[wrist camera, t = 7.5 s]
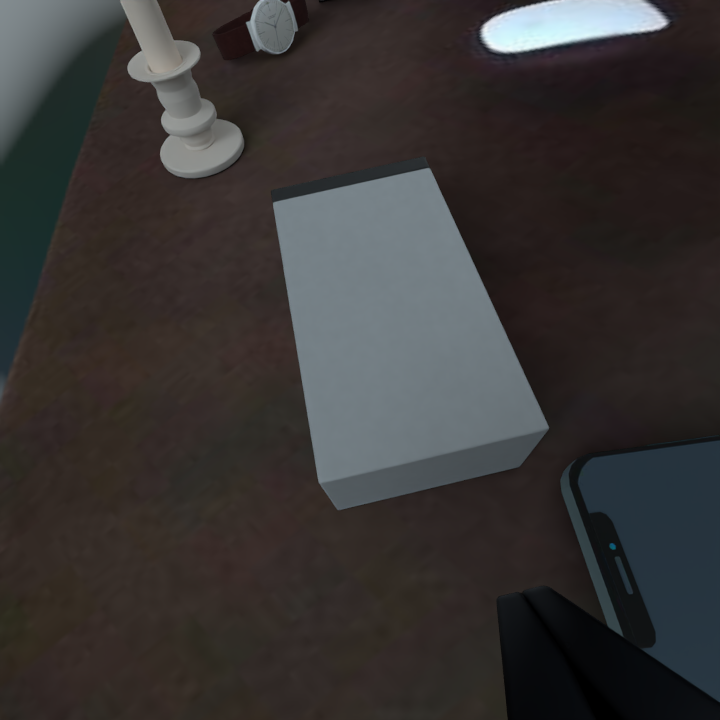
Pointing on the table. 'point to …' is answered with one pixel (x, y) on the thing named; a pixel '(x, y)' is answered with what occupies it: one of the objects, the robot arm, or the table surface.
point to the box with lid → (397, 338)
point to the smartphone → (655, 548)
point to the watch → (262, 28)
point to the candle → (180, 97)
